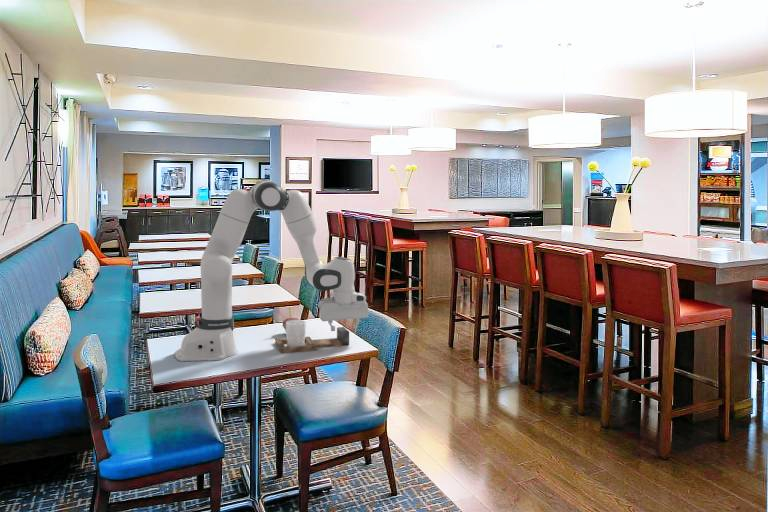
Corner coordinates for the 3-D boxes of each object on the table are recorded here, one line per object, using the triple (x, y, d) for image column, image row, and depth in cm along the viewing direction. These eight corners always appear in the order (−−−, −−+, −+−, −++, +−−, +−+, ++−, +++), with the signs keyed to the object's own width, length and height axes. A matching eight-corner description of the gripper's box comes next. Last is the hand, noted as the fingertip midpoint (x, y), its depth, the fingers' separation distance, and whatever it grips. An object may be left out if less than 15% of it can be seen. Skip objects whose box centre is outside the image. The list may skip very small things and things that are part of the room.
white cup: (301, 350, 226) (301, 325, 225) (282, 348, 228) (282, 324, 226) (308, 344, 234) (308, 320, 232) (290, 343, 235) (289, 319, 234)
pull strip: (281, 353, 222) (281, 339, 221) (275, 342, 235) (275, 329, 234) (351, 347, 231) (351, 333, 230) (342, 337, 244) (342, 325, 243)
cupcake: (278, 334, 248) (278, 306, 246) (293, 330, 254) (293, 303, 252) (291, 338, 242) (291, 310, 240) (306, 334, 248) (306, 306, 247)
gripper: (320, 300, 228) (321, 333, 230) (369, 296, 235) (369, 329, 237) (317, 296, 234) (317, 329, 236) (365, 293, 241) (365, 325, 243)
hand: (344, 329), depth 236 cm, fingers open, 8 cm apart
